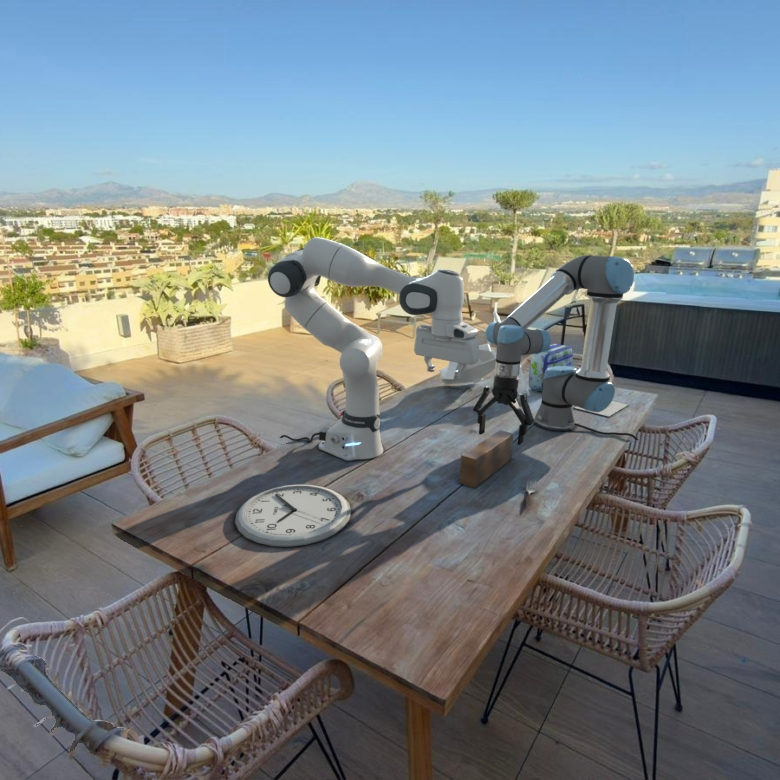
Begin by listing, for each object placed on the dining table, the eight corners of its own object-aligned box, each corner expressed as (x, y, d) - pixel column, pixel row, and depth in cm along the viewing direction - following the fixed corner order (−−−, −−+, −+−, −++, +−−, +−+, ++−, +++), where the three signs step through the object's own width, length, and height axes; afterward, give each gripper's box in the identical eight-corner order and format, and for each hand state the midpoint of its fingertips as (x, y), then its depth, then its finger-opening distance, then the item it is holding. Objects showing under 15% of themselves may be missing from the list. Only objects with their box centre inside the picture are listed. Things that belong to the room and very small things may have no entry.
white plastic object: (461, 429, 252) (437, 405, 227) (444, 352, 274) (420, 323, 250) (535, 404, 240) (518, 377, 215) (510, 326, 262) (492, 293, 237)
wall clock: (351, 538, 125) (223, 542, 122) (351, 544, 125) (223, 548, 123) (350, 480, 153) (246, 482, 151) (350, 485, 154) (246, 487, 151)
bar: (497, 455, 176) (499, 429, 174) (511, 458, 174) (513, 433, 171) (459, 483, 157) (461, 455, 154) (474, 488, 154) (476, 459, 151)
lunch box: (545, 396, 239) (550, 351, 232) (524, 391, 246) (528, 347, 240) (572, 385, 256) (577, 343, 250) (552, 380, 263) (557, 339, 257)
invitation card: (608, 416, 214) (573, 407, 224) (608, 416, 214) (573, 408, 224) (628, 404, 229) (594, 396, 238) (628, 405, 229) (594, 397, 238)
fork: (520, 510, 142) (521, 503, 141) (526, 484, 156) (527, 478, 155) (530, 512, 141) (531, 505, 140) (535, 486, 155) (536, 480, 154)
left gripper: (410, 324, 154) (409, 370, 158) (472, 334, 142) (469, 382, 146) (422, 322, 158) (420, 366, 163) (483, 330, 147) (479, 378, 151)
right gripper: (465, 370, 167) (461, 432, 174) (540, 385, 153) (532, 452, 160) (476, 366, 173) (471, 426, 179) (549, 380, 159) (541, 444, 165)
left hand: (444, 374), depth 154 cm, fingers open, 8 cm apart
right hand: (500, 438), depth 170 cm, fingers open, 13 cm apart
